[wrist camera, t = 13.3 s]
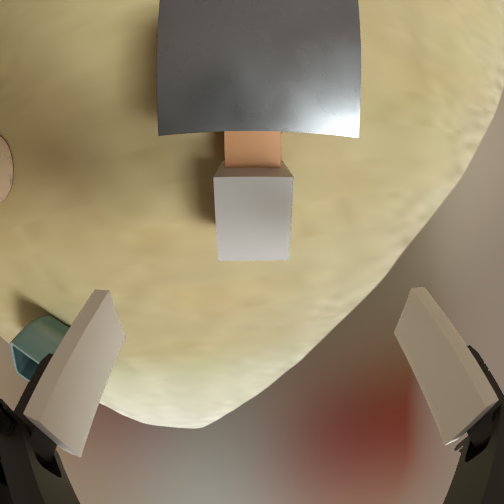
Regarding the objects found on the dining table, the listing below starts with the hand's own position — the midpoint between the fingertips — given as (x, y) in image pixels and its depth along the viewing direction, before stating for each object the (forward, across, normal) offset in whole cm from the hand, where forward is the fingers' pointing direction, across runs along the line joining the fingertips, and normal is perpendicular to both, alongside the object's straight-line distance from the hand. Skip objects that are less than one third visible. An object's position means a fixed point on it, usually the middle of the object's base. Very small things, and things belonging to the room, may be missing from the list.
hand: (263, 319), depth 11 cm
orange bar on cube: (+14, 0, +9) cm, 17 cm away
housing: (+14, 0, +11) cm, 18 cm away
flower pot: (+15, -28, -18) cm, 36 cm away
